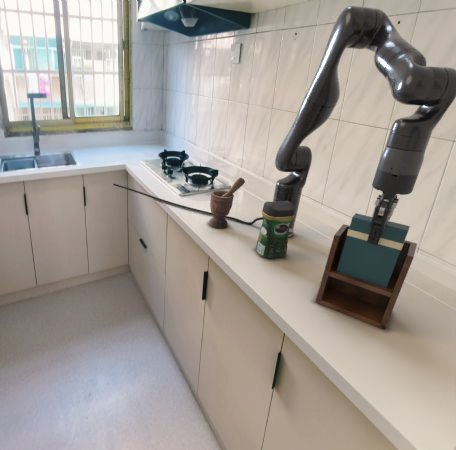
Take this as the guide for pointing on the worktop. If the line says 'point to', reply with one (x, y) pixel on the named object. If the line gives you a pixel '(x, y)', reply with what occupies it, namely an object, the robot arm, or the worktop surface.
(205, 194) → the worktop surface
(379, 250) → the book
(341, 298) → the bookshelf
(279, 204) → the coffee jar
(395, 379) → the worktop surface
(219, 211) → the mortar and pestle
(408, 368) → the worktop surface
